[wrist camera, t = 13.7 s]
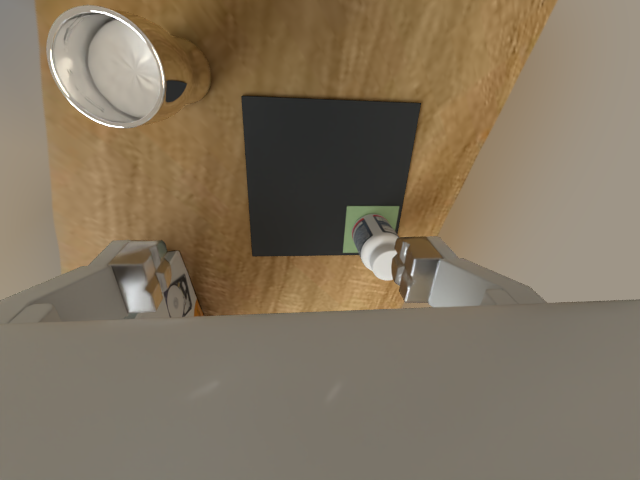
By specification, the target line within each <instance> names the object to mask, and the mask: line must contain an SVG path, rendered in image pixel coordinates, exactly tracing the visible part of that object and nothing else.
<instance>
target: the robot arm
mask: <svg viewBox="0 0 640 480" xmlns="http://www.w3.org/2000/svg"><path fill="white" fill-rule="evenodd" d="M394 249H395V250H396V252H397V254H396V255H395V256H394V257H393V258H392V264H391V273H392V277H393V280H394V282H395V283H396V284H398V285H399V286H400V287H399V292H400V294H401V296H402V298H403V300H404V302H405V303H429V304H430V305H431V306H432V307H429V308H403V309H377V310H351V311H326V312H300V313H274V314H248V315H222V316H196V317H170V318H143V319H123V318H124V317H126V316H127V315H128V314H129V313H145V312H156V311H157V309H158V307H159V305H160V303H161V301H162V299H163V296H162V293H163V292H164V291H166V290H168V288H169V286H170V283H171V277H172V272H171V265H170V263H169V262H168V261H167V260H166V259H165V258H164V257H165V255H166V253H167V249H166V245H165V243H164V242H163V241H162V240H116V241H112V242H111V243H110V244H109V245H108V246H107V247H106V248H105V249H104V250H103V251H102V252H101V253H100V254H99V255H98V256H97V257H96V258H95V259H94V260H93V261H92V262H91V263H90V264H89V265H88V266H82V267H79V268H77V269H74V270H72V271H70V272H67V273H65V274H62V275H60V276H58V277H55V278H53V279H50V280H48V281H46V282H44V283H41V284H38V285H36V286H34V287H31V288H29V289H27V290H24V291H22V292H19V293H17V294H14V295H12V296H10V297H7V298H5V299H3V300H0V480H640V300H613V301H588V302H561V303H547V302H546V301H545V300H544V299H542V298H541V297H540V296H539V295H538V294H537V293H536V292H535V291H534V290H533V289H532V288H530V287H529V286H526V285H524V284H522V283H519V282H517V281H515V280H512V279H510V278H508V277H505V276H503V275H501V274H498V273H496V272H494V271H492V270H489V269H487V268H484V267H482V266H480V265H478V264H475V263H473V262H471V261H468V260H466V259H464V258H458V257H457V256H456V254H455V253H454V252H453V251H452V250H451V249H450V248H449V247H448V246H447V245H446V244H445V242H444V241H443V240H442V239H441V238H440V237H438V236H429V237H400V238H397V240H396V242H395V247H394Z"/></svg>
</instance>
